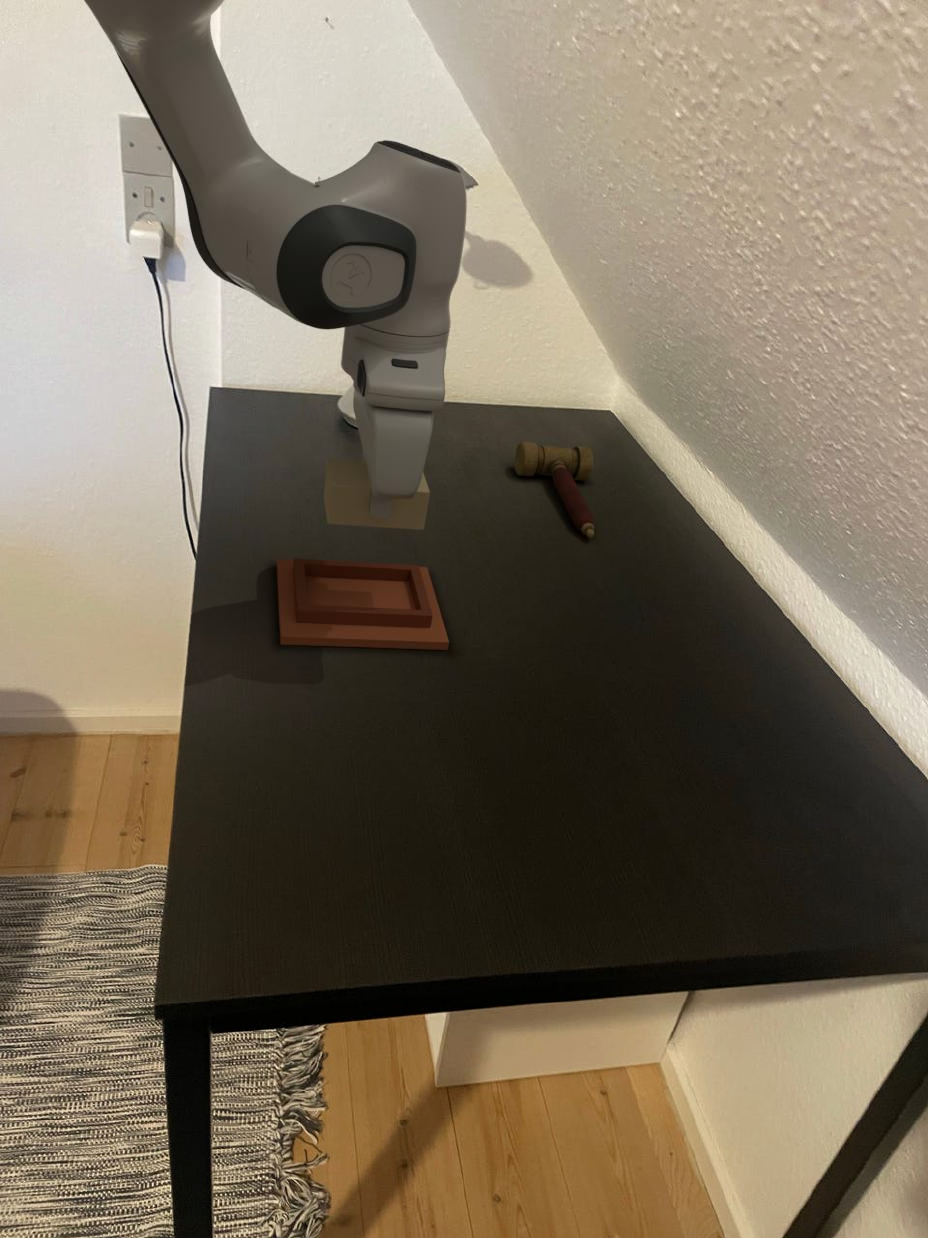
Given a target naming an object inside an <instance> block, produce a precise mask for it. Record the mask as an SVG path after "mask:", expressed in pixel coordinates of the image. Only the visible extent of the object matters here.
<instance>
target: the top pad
mask: <svg viewBox="0 0 928 1238" xmlns="http://www.w3.org/2000/svg"><path fill="white" fill-rule="evenodd" d="M324 482H325V483H324V489H323V502H324V509H325V515H326V523H327V525H334V526H335V525H338V526H351V527H367V528H384V529H399V530H400V529H401V530H415V531H424V530H425V524H426V519H427V512H428V506H429V501H430V495H431V492H430V491H431V490H430V488H429V486H428V483H427V479H426V477H425V473H424V472H423V473H422V477H421V481H420V485H419V488H418V490H417V492H416V493H415V495H414V496H413V497H412V498H411V499H393V501H392V504H391V510H390V515H389V517H387V518H375V517H372V516H371V514H370V510H369V502H370V494H371V493H372V487H371V483H370V478H369V474H368V470H367V465H366V462H363V461H357V460H347V459H346V460H345V459H332V458H328V459H327V460H326V470H325V479H324Z"/></svg>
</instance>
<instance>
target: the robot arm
mask: <svg viewBox="0 0 928 1238" xmlns="http://www.w3.org/2000/svg"><path fill="white" fill-rule="evenodd" d="M83 1H84V2H85V4H86V6H87V7H88V8H89V10H90V12H91V13H92V14H93V16H94V18H95V19H96V21H97V23H98V25H99V26H100V28H101V30H102V31H103V33H104V34H105V35H106V37H107V39H108V40H109V42H110V43H111V45H112V46H113V49H114V50H115V53H116V55H117V56H118V59H119V61H120V63H121V64H122V67H123V68H124V71H125V73H126V74H127V76H128V79H129V80H130V82H131V84H132V86H133V88H134V90H135V92H136V94H137V96H138V98H139V100H140V102H141V104H142V105H143V107H144V109H145V111H146V114H147V115H148V117H149V119H150V120H151V122H152V125H153V126H154V129H155V131H156V132H157V134H158V137H159V138H160V140H161V142H162V144H163V146H164V147H165V150H166V151H167V153H168V155H169V157H170V159H171V161H172V163H173V165H174V167H175V169H176V171H177V174H178V177H179V179H180V182H181V185H182V190H183V192H184V197H185V205H186V210H187V215H188V216H187V217H188V223H189V228H190V232H191V233H190V234H191V237H192V240H193V243H194V245H195V249H196V251H197V253H198V255H199V256H200V258H201V260H202V261H203V263H204V264H205V265H206V266H207V267H208V269H209V270H210V271H211V272H212V273H213V274H215V275H216V276H217V277H218V278H220V279H221V280H223V281H225V282H226V283H230V284H231V285H234V286H236V287H238V288H241V289H242V290H245V291H247V292H249V293H251V294H252V295H254V296H255V297H257V298H258V299H260V300H262V301H263V302H264V303H266V304H268V305H269V306H271V307H272V308H274V309H277V310H278V311H280V312H281V313H283V314H285V315H286V316H288V317H289V318H291V319H293V320H294V321H296V322H298V323H300V324H303V325H305V326H308V327H310V328H314V329H318V330H337V329H342V328H344V329H343V337H342V346H341V357H340V358H341V359H340V367H341V369H342V370H343V371H344V373H346V374H347V375H349V377H350V378H351V379H352V381H353V382H352V386H353V388H354V390H353V397H352V398H353V399H352V408H353V413H354V417H355V421H356V426H357V430H358V431H357V432H358V434H359V435H358V436H359V440H360V443H361V448H362V462H366V465H367V470H368V474H369V478H370V483H371V487H372V493H371V494H370V502H369V510H370V514H371V516H372V517H375V518H387V517H389V515H390V510H391V504H392V501H393V499H411V498H412V497H413V496H414V495H415V493H416V492H417V490H418V488H419V485H420V481H421V477H422V473H424V469H425V464H426V461H427V456H428V452H429V449H430V447H429V446H430V443H431V438H432V434H433V426H434V417H435V416H434V412H442V411H443V408H444V403H445V398H446V382H445V367H446V366H445V365H446V358H447V349H448V342H449V337H450V331H451V313H450V301H451V296H452V293H453V290H454V288H455V285H456V284H457V281H458V279H459V274H460V270H461V265H462V258H463V251H464V245H465V235H466V225H467V212H468V211H467V207H468V205H467V203H468V202H467V189H466V186H467V185H466V181H465V177H464V174H463V173H462V171H460V169H459V168H458V167H457V166H456V165H455V163H452V161H449V160H447V159H445V158H442V157H439V156H437V155H434V154H432V153H429V152H426V151H424V150H420V149H418V148H415V147H414V146H410V145H407V144H405V143H401V142H398V141H394V140H387V139H385V140H378V141H375V142H374V143H373V145H372V146H371V148H370V149H369V151H368V152H367V154H366V155H365V156H363V157H362V158H361V159H359V160H358V161H357V162H355V163H354V164H353V165H351V166H350V167H348V168H346V169H345V170H343V171H341V172H339V173H337V174H335V175H333V176H330V177H328V178H325V179H322V180H321V179H320V180H319V181H314V182H312V181H310V180H308V179H306V178H304V177H302V176H299V175H297V174H295V173H294V172H291V171H290V170H289V169H287V168H286V167H284V166H283V165H281V164H280V163H279V162H277V161H276V160H275V159H274V158H272V157H271V156H270V155H269V154H268V153H267V152H266V151H265V150H263V148H262V147H261V146H260V145H259V143H258V142H257V141H256V140H255V138H254V136H253V134H252V132H251V130H250V127H249V124H248V123H247V121H246V118H245V116H244V114H243V111H242V109H241V107H240V104H239V102H238V100H237V97H236V95H235V92H234V91H233V88H232V85H231V83H230V81H229V79H228V77H227V73H226V72H225V69H224V68H223V65H222V62H221V60H220V58H219V55H218V53H217V51H216V47H215V44H214V40H213V37H212V30H211V27H212V26H211V21H212V20H211V19H212V15H213V14H214V13H215V12H216V11H217V10H218V9H219V8H220V7H221V6H222V5H223V3H224V2H225V0H83Z"/></svg>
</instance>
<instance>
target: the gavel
mask: <svg viewBox="0 0 928 1238" xmlns="http://www.w3.org/2000/svg"><path fill="white" fill-rule="evenodd" d="M593 467H594V454H593V451H592V449H591V448H590V447H587V446H574V447H573V448H572V449H571V448H570V447H561V446H551V445H550V446H549V445H540V446H538V445H537V444H536V442H532V441H520V442H519V443H518V444H517V446H516V450H515V453H514V470H515V473H516V474H517V476H522V477H533V476H534V475H535V474H537V475H539V476H550V477H552V481H553V485H554V486H555V488H556V490H557V492H558V495H559V496H560V498H561V501H562V503H563V504H564V507H565V509H566V512H567V513H568V515H569V518H570V519H571V522H572V523H573V526H574V527H575V528H576V530H578V531H580V532H581V533H582V534H583V535H584V536H586V537H587V538H590V539H591V538H594V537H595V518H594V516H593V514H592V512H591V510H590V508H589V505H588V504H587V502H586V500H585V499H584V497H583V494H582V493H581V491H580V489H579V487H578V485H577V483H576V481H583V482H584V481H588V480H589V478H590V477H591V475H592V472H593Z"/></svg>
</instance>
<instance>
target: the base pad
mask: <svg viewBox="0 0 928 1238" xmlns="http://www.w3.org/2000/svg"><path fill="white" fill-rule="evenodd" d="M276 581H277V584H276V585H277V601H278V602H277V603H278V604H277V605H278V621H279V622H278V624H279V626H278V627H279V644H280V645H283V646H284V645H285V646H312V647H342V648H372V649H403V650H428V651H429V650H433V651H434V650H435V651H448V650H449V644H450V639H449V638H448V635H447V634H448V633H447V630H446V627H445V623H444V620H443V616H442V614H441V609H440V606H439V603H438V600H437V597H436V593H435V589H434V586H433V583H432V579H431V576H430V572H429V568H428V567H427V566H419V565H418V564H405V563H404V564H403V563H402V564H401V563H387V562H386V563H382V562H367V561H365V562H364V561H349V560H348V561H347V560H332V559H330V560H329V559H314V558H312V559H311V558H293V559H290V558H289V559H286V558H277V560H276Z"/></svg>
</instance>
